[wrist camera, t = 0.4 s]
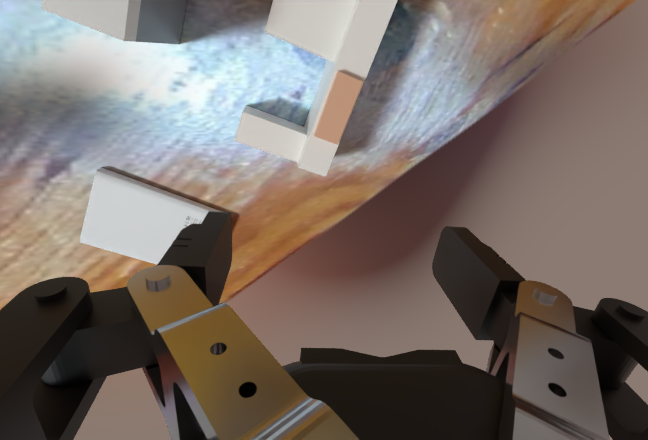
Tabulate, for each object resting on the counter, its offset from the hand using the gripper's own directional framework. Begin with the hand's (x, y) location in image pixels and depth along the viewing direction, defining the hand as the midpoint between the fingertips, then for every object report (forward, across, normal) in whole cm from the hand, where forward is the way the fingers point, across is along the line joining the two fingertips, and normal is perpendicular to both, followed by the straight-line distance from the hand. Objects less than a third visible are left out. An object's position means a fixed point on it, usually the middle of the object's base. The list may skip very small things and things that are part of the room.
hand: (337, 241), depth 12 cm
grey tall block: (+20, +13, -9) cm, 25 cm away
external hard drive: (+21, +15, +10) cm, 28 cm away
